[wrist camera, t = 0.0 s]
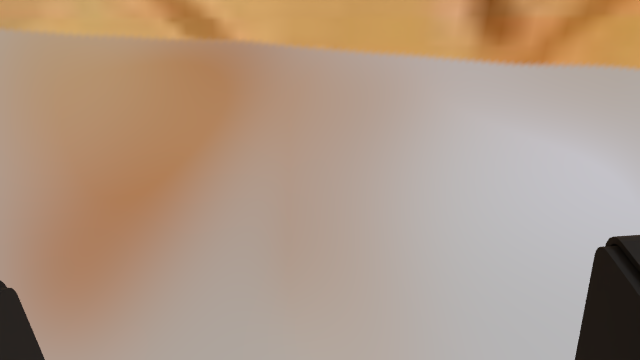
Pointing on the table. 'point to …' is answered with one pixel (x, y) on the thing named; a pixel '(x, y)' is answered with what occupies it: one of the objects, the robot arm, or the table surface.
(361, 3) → the table surface
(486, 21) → the table surface
